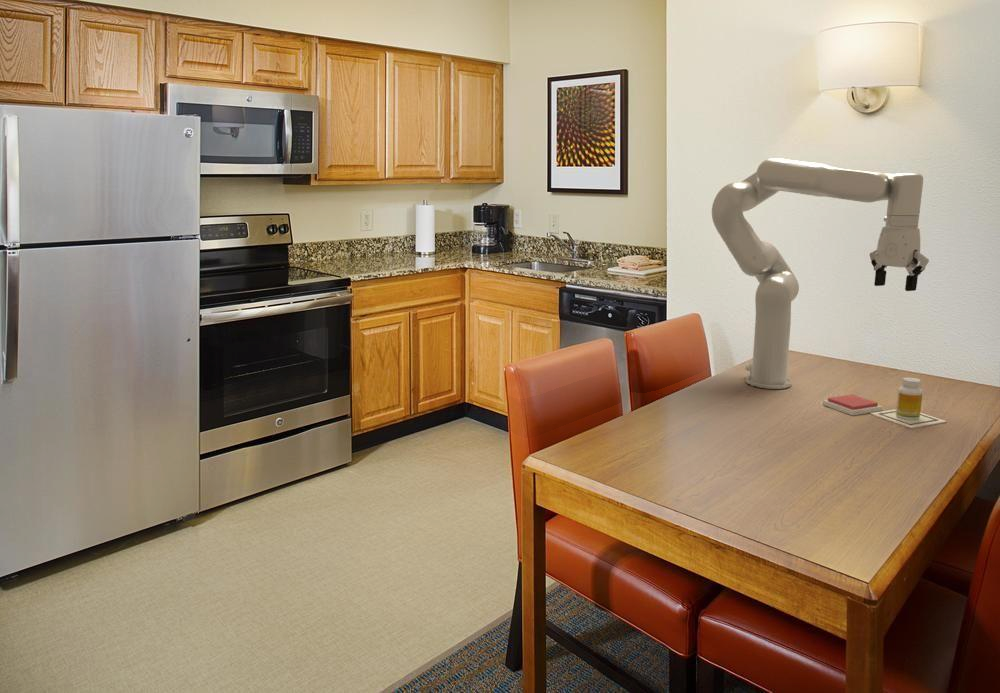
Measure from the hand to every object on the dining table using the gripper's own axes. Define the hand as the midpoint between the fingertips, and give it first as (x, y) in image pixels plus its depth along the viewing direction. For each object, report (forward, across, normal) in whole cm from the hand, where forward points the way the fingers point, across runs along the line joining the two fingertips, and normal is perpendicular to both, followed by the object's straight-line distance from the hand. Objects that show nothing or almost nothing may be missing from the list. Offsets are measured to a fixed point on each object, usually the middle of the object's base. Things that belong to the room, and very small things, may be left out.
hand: (894, 288), depth 203 cm
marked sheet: (+30, +15, -8) cm, 35 cm away
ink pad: (+30, +3, -14) cm, 34 cm away
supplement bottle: (+30, +15, -8) cm, 35 cm away
